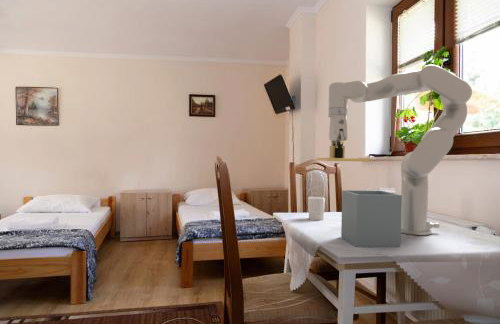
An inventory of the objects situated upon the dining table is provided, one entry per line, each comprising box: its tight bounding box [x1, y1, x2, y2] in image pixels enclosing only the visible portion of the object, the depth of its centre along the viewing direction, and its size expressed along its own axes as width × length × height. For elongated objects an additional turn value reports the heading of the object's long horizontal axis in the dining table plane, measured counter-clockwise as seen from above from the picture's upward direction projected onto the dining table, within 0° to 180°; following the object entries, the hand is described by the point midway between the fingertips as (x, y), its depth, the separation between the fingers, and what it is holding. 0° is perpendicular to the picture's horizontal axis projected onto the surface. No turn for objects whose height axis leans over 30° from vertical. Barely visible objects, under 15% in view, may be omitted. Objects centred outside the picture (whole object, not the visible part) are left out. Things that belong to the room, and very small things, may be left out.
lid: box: [316, 145, 370, 162], centre depth 149 cm, size 16×16×6 cm
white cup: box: [307, 196, 326, 221], centre depth 175 cm, size 8×8×10 cm
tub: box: [340, 189, 402, 248], centre depth 131 cm, size 15×15×17 cm
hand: (336, 157), depth 155 cm, fingers closed on lid, 4 cm apart
